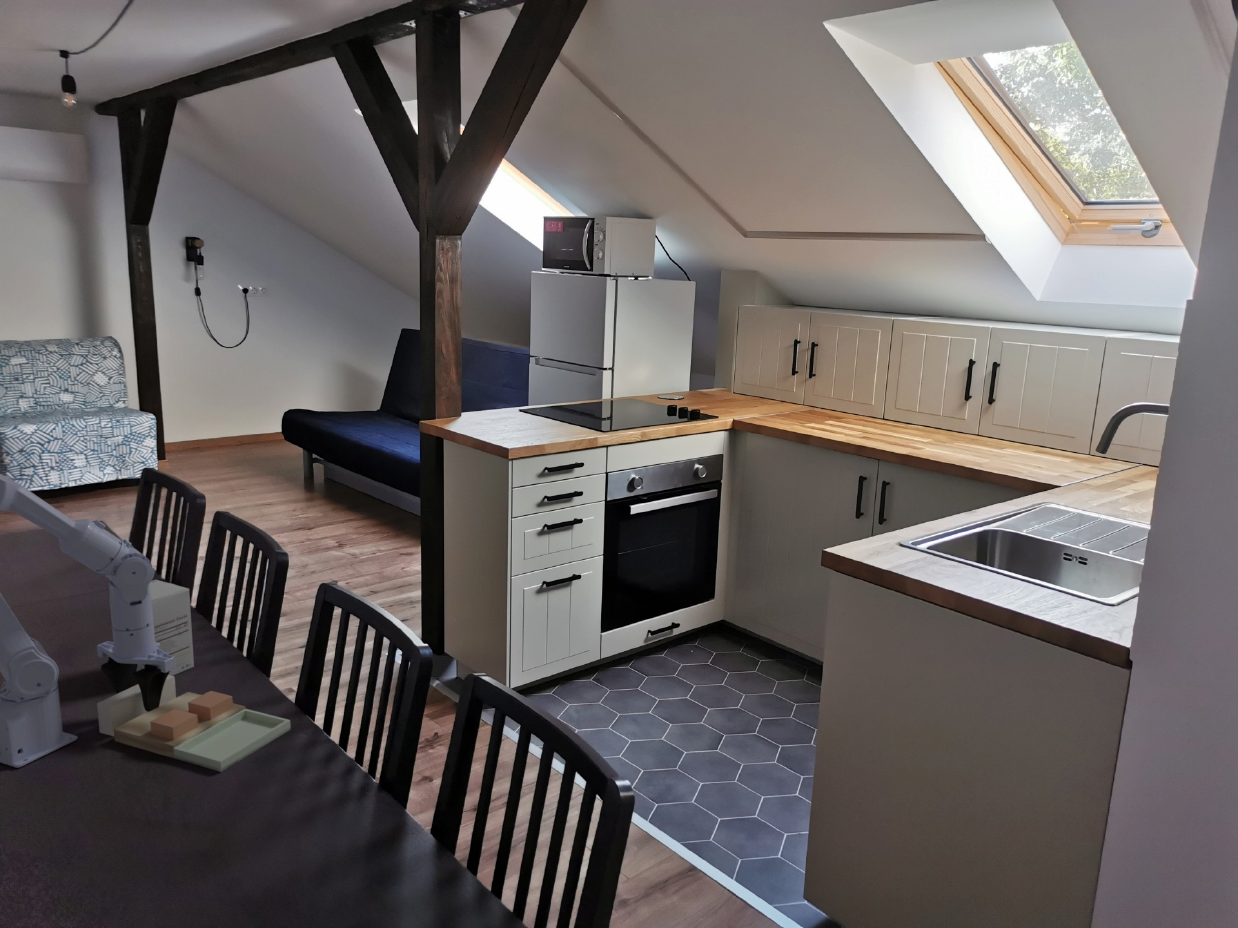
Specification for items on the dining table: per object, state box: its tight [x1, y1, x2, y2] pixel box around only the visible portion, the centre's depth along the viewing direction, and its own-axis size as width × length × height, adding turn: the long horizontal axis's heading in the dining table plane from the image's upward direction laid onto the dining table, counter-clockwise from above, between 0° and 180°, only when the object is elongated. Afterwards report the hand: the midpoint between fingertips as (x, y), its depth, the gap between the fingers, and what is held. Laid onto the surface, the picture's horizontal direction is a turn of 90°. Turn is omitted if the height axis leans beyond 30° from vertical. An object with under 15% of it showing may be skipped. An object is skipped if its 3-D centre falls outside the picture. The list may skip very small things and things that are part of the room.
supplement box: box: [136, 579, 195, 676], centre depth 165 cm, size 9×9×15 cm
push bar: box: [96, 675, 177, 737], centre depth 148 cm, size 12×3×5 cm, turn 158°
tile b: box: [188, 690, 234, 720], centre depth 147 cm, size 4×4×2 cm
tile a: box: [150, 709, 198, 740], centre depth 141 cm, size 4×4×2 cm
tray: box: [173, 708, 292, 773], centre depth 141 cm, size 14×9×2 cm, turn 157°
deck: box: [113, 691, 246, 759], centre depth 145 cm, size 14×12×2 cm
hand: (140, 705), depth 149 cm, fingers open, 5 cm apart
